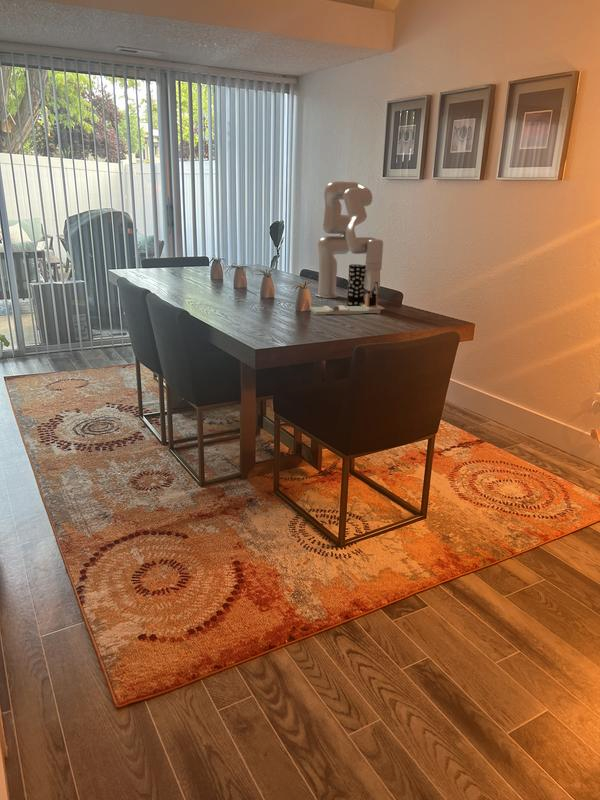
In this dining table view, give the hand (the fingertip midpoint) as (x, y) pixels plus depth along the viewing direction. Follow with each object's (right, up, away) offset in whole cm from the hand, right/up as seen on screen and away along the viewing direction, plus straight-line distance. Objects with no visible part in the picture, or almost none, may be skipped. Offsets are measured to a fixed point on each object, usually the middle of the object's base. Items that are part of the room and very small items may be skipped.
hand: (370, 304), depth 290 cm
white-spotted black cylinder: (-6, +1, +13) cm, 15 cm away
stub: (+1, -1, +1) cm, 2 cm away
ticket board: (-13, -4, -2) cm, 13 cm away
